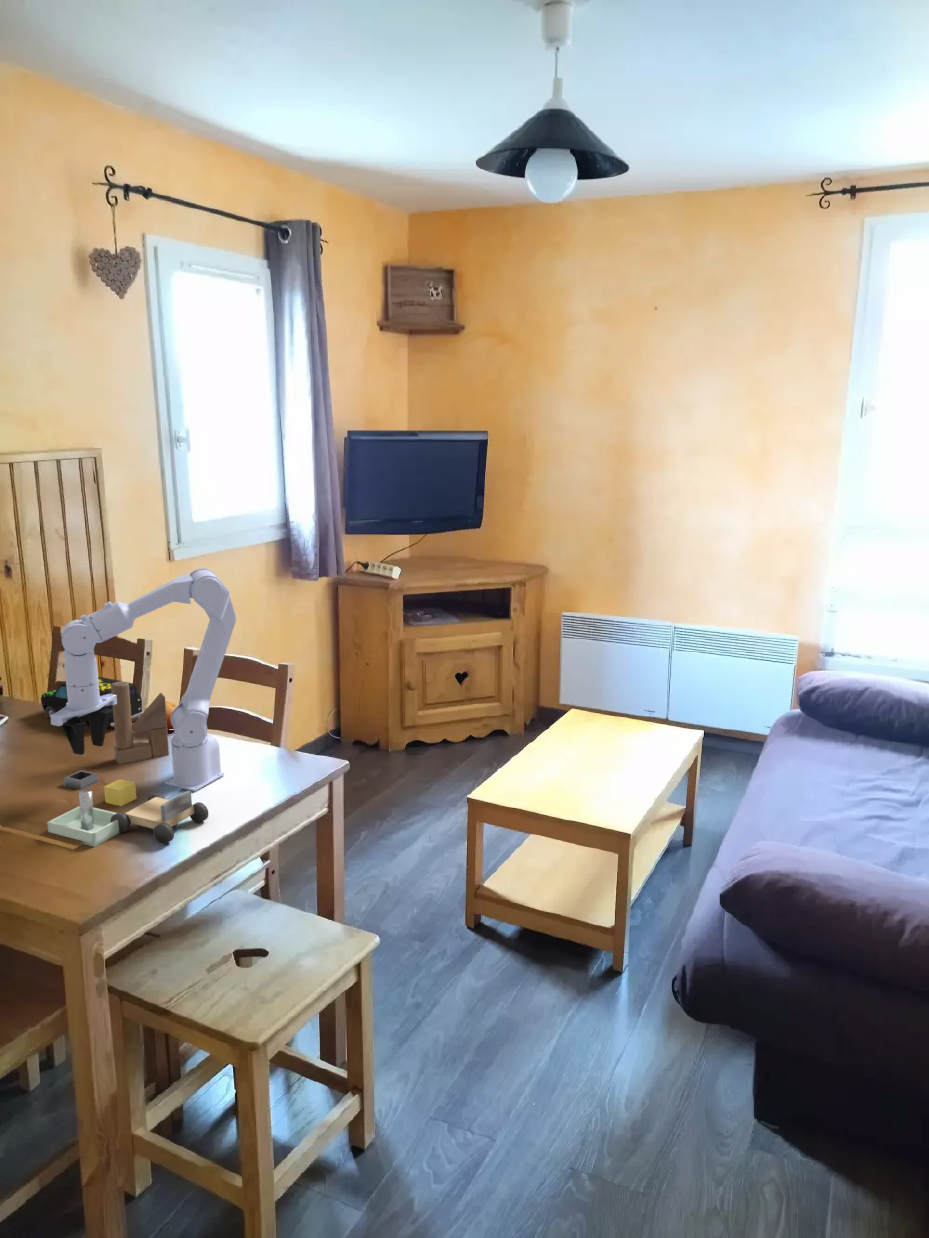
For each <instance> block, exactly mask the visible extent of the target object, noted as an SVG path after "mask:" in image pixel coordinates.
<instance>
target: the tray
mask: <svg viewBox="0 0 929 1238" xmlns="http://www.w3.org/2000/svg"><path fill="white" fill-rule="evenodd" d="M117 813H118V812H115V811H110V810H106V809H101V808H98V807H94V806H93V815H94V828H93V829H91V830H83V829H81V819H80V805H78V806H77V807H75V808H73V809H71V810H69V811H66V812H65V813H63V814H60V815H59V816H57V817H54V818H52V819H51V820H49V821H47V822H46V824H47V832H48V833H51V834H53V835H54V834H55V835H58V836H62V837H66V838H70V839H74V840H77V841H81V842H80V844H81V845H86V846H89V847H94V848H96V847H97V846H98V845H100V844H102V843H104V842H106V841H108V840H110V839H112V838H113V837H116V836H117V835H118V834H120V833H119V824H118V820H115V821H113V822H111V817H112V816H113V815H115V814H117Z"/></svg>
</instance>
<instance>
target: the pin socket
mask: <svg viewBox="0 0 929 1238" xmlns="http://www.w3.org/2000/svg"><path fill="white" fill-rule="evenodd" d="M63 780H64V784H62V787H67V788H72V789H74V790H75V789H76V790H79V791H81V790H84V789H86V788H88V787H90V786H92V785H94V784H96V783H98V782H101V780H99V779H98V773H96V772H91V771H87V770H83V769H81V770H78V771H76V772H74V773H72V774H69V775H67V776H65V777H63Z"/></svg>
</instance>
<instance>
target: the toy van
mask: <svg viewBox="0 0 929 1238" xmlns="http://www.w3.org/2000/svg"><path fill="white" fill-rule="evenodd" d="M120 681H121V680H119V679H114V678H113V679H112V678H107V677H103V676H98V682H99V694H100V696H103V695H107V694H112V692H111V684H112V683H115V682H120ZM128 683H129V693H130V706H131V719H132V720H134V719H136V718H139V717H140V716H141V715H142V713H143V712H144V710H143V701H142V696H141V693H140V691H139V688H138V686H137V684H136V683H132V682H128ZM40 702H41V709H42V711H44V713H45V717H46V718H47V717H50V715H52V714H54V713H56V712H58V711H60V710H61V709H63V708H64V707H66V703H68V697H67V687H66V681H64V682H62V683H61V684H60V685H59V686H58V688H56V689H54V690H53V689H52V690H50V691H47V692H44V693H43V694H42V695H41V697H40ZM107 708H108V709H112V710H113V705H109V706H107ZM78 719H80V721H83V722H88V719H87V717H86V715H83V716H80V717H78ZM109 726H110V727H114V716H113V715H112V717H111V719H110V721H109V723H108V726H107V729H108V727H109Z"/></svg>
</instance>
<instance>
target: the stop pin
mask: <svg viewBox="0 0 929 1238" xmlns="http://www.w3.org/2000/svg"><path fill="white" fill-rule="evenodd" d="M78 797H79V799H78V800H79V806H80V819H81V829H83V830H91V829H93V828H94V815H93V807H94V801H93V800H94V799H93V798H94V796H93V790H92V789H89V788H87V789H86V788H84V789H82V790H79V791H78Z"/></svg>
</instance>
